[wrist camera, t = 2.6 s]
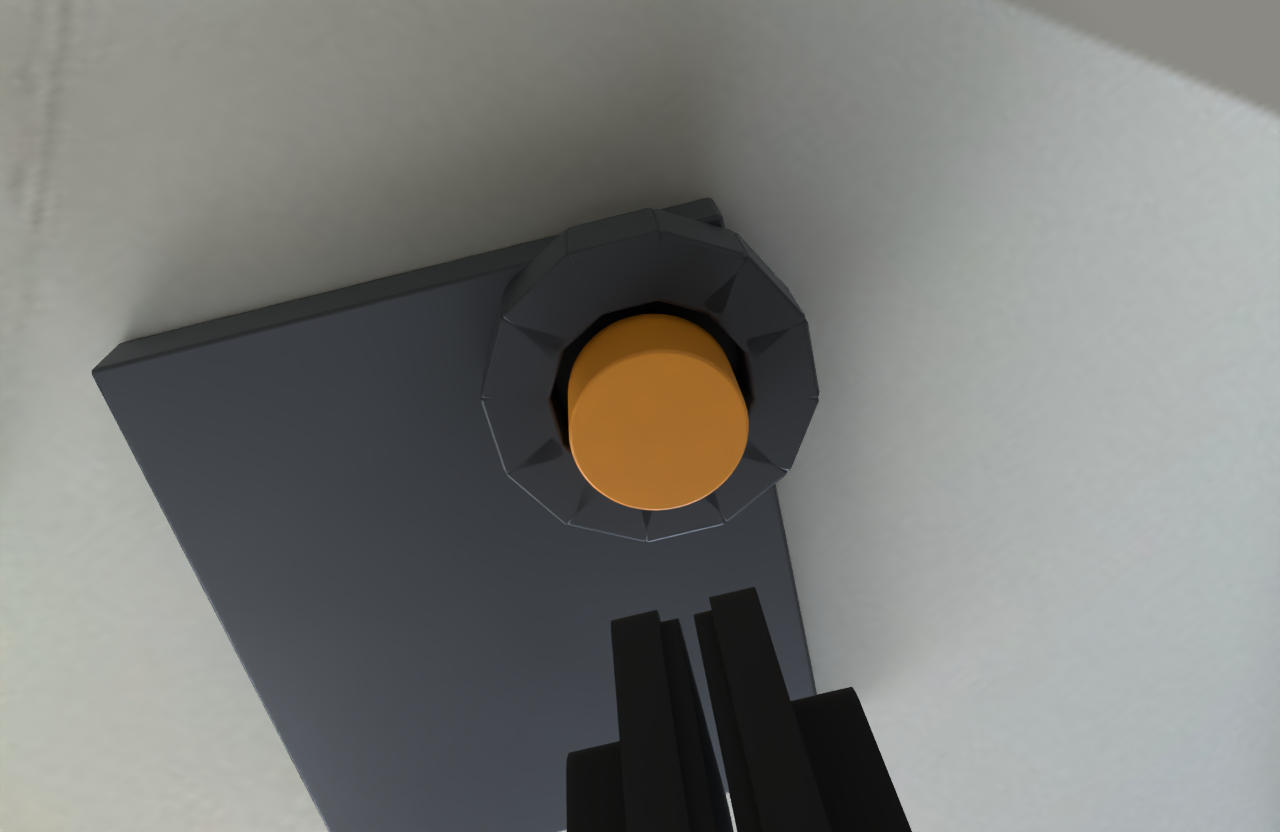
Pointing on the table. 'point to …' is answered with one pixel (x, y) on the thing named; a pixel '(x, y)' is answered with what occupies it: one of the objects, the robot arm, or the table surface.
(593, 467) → the orange cylinder
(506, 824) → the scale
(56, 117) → the table surface
